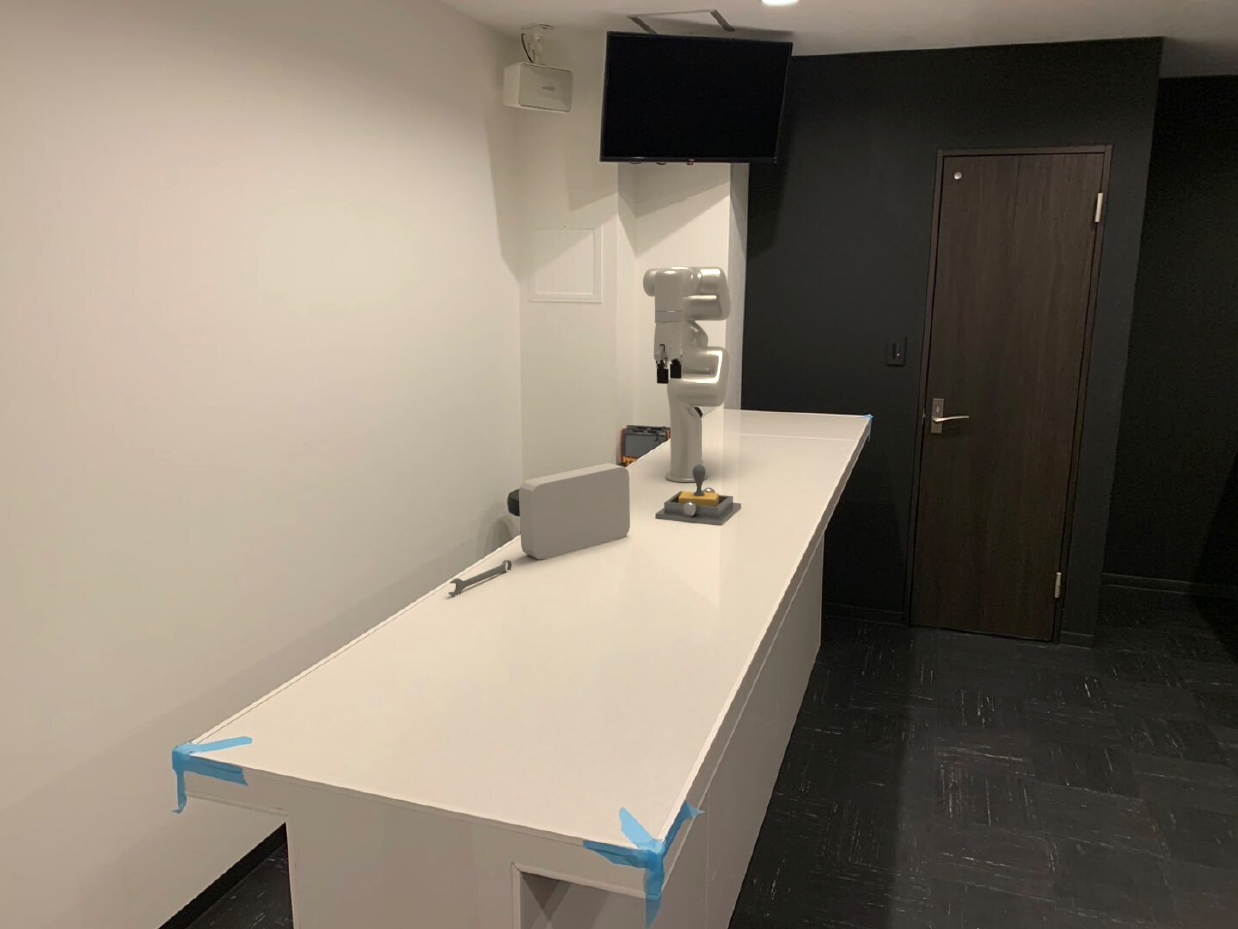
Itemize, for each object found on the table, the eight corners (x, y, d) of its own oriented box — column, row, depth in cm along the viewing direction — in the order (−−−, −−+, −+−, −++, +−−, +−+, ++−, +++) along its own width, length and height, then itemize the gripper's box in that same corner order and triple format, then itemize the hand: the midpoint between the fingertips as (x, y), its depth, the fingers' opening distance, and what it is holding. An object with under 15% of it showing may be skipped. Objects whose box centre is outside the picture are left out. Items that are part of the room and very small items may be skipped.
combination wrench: (508, 555, 209) (445, 581, 193) (512, 556, 208) (449, 582, 192) (508, 571, 210) (445, 598, 193) (513, 572, 209) (450, 599, 193)
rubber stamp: (719, 506, 250) (719, 462, 247) (715, 512, 245) (716, 467, 242) (682, 504, 253) (682, 461, 250) (678, 510, 247) (678, 466, 244)
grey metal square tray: (678, 501, 260) (678, 484, 259) (741, 507, 253) (741, 490, 252) (655, 518, 245) (655, 500, 244) (721, 525, 238) (721, 507, 237)
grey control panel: (611, 529, 237) (609, 459, 232) (630, 536, 231) (629, 464, 227) (515, 554, 219) (512, 479, 215) (534, 562, 213) (531, 485, 209)
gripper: (667, 314, 260) (667, 375, 264) (643, 319, 244) (644, 384, 248) (693, 314, 257) (693, 377, 261) (670, 320, 241) (670, 386, 245)
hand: (669, 380), depth 255 cm, fingers open, 9 cm apart
